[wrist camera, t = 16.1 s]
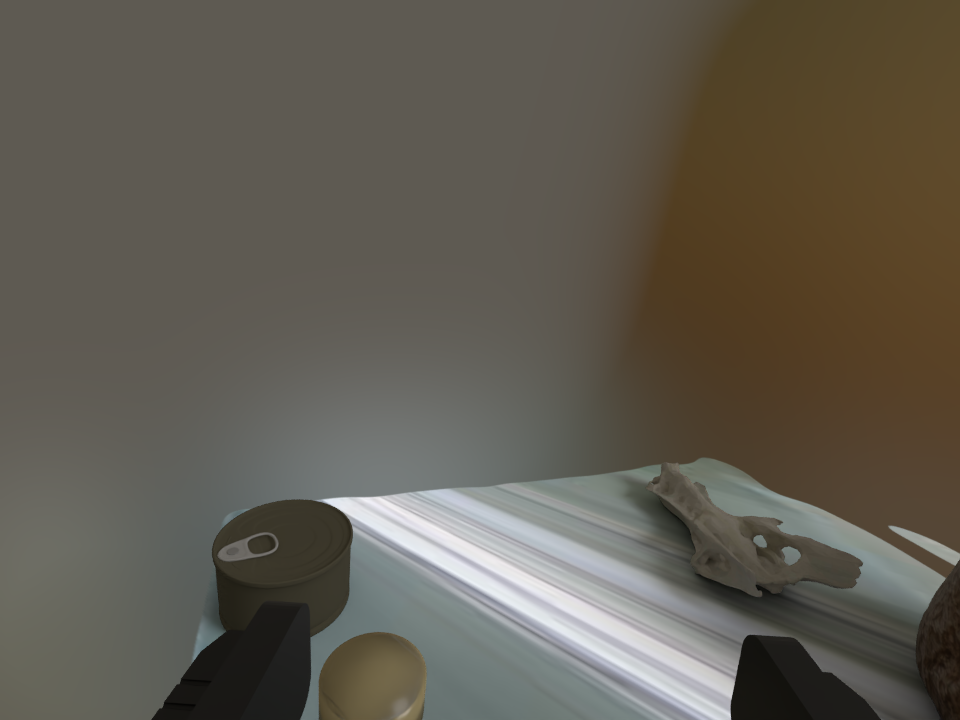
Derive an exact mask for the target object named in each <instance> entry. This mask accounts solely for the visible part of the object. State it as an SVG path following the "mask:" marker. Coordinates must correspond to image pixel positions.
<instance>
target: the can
mask: <svg viewBox="0 0 960 720" xmlns="http://www.w3.org/2000/svg"><path fill="white" fill-rule="evenodd" d="M352 538H353V529H352V525H351V523H350V521H349V519H348V518H347V516H346V515H345V514H344V513H343V512H341V511H340V510H338V509H337V508H335V507H333V506H331V505H328V504H325V503H322V502H318V501H312V500H284V501H277V502H272V503H268V504H264V505H261V506H258V507H255V508H253V509H250V510H248V511H246V512H244V513H242V514H240V515H239V516H237V517H236V518H234V519H233V520H231V521H230V522H229V523H228V524H227V525H226V526H224V527H223V529H222V530H221V531H220V532H219V534H218V535H217V537H216V539H215V541H214V544H213V548H212V557H213V562H214V565H215V567H216V578H217V589H218V600H219V614H220V619H221V623H222V625H223V627H224V628H225V630H226V631H228V630H241V631H245V629H246V627H247V626H248V624H249V623H250V621H251V620H252V618H253V617H254V615H255V614H256V612H257V611H258V609H259V608H260V606H261V605H262V604H263V603H264V602H265V601H283V602H297V603H307V604H308V606H309V610H310V637H312V636H314V635H316V634H317V633H319V632H321V631H322V630H324V629H325V628H326V627H328V626H329V625H330V624H331V623H332V622H334V620H335V619H336V618H337V617H338V616H339V615H340V614H341V612H342V611H343V609H344V607H345V605H346V603H347V600H348V596H349V577H350V549H351V543H352Z"/></svg>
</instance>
